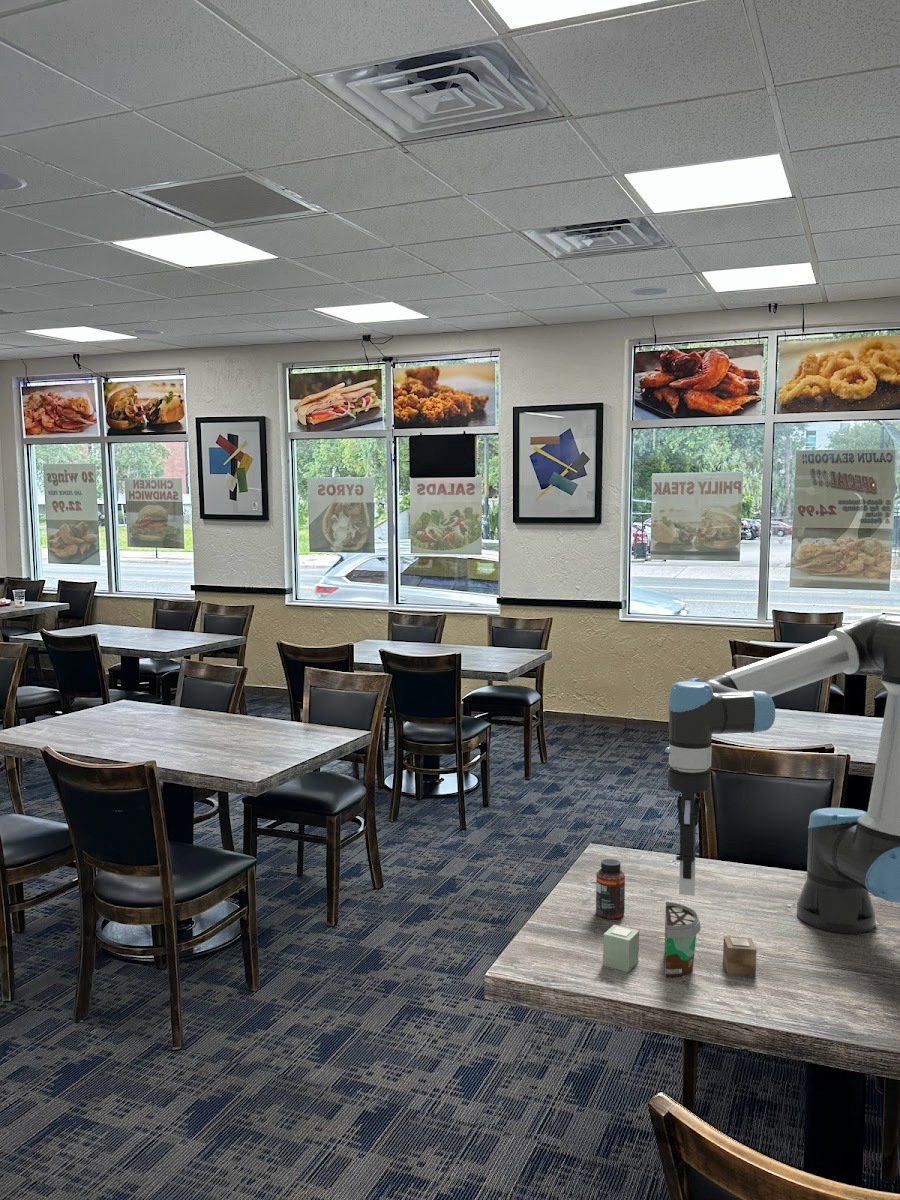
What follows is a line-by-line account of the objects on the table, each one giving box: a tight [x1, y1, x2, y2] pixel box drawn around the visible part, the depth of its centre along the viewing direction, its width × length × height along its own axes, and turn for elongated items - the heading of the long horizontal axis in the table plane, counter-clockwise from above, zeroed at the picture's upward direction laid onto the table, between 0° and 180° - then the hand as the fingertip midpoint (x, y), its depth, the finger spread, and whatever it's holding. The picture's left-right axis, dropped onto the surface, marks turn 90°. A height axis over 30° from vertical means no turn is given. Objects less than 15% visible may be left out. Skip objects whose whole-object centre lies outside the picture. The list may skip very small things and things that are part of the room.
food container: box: [664, 901, 702, 979], centre depth 173 cm, size 12×6×10 cm, turn 169°
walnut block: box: [722, 935, 757, 977], centre depth 174 cm, size 5×5×5 cm
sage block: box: [602, 924, 640, 973], centre depth 175 cm, size 5×5×6 cm
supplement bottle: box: [595, 858, 626, 920], centre depth 197 cm, size 6×6×11 cm
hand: (686, 893), depth 173 cm, fingers closed
